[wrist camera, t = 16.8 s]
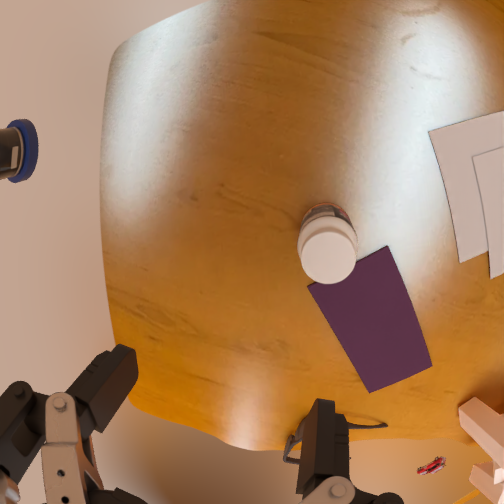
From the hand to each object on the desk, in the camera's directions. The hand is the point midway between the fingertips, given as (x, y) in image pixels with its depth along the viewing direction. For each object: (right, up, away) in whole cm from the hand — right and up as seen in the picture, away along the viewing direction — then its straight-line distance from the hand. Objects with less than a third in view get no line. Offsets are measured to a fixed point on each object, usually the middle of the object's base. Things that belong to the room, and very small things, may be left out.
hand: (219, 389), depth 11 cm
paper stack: (+36, +12, +14) cm, 41 cm away
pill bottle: (+10, +9, +21) cm, 25 cm away
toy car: (+45, -46, +35) cm, 73 cm away
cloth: (+19, -5, +25) cm, 31 cm away
